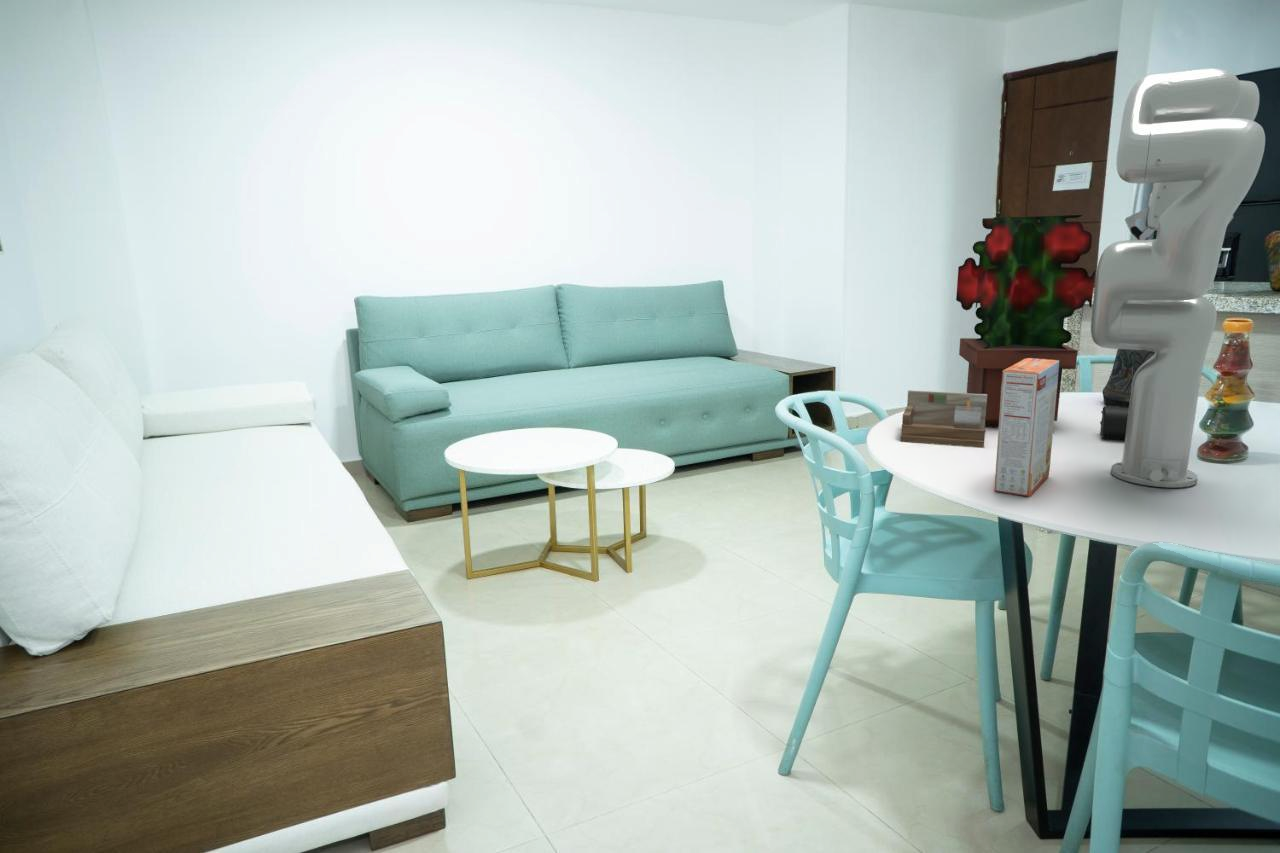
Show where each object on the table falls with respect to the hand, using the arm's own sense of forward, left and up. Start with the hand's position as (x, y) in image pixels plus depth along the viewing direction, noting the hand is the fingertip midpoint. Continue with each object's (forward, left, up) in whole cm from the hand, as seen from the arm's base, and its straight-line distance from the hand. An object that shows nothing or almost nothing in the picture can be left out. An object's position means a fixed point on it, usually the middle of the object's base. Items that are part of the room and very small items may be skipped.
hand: (1172, 261), depth 152 cm
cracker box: (-39, +25, -36) cm, 59 cm away
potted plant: (+10, +26, -36) cm, 45 cm away
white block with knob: (-9, +34, -35) cm, 50 cm away
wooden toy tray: (-9, +39, -36) cm, 54 cm away
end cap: (0, +4, -36) cm, 36 cm away
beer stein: (+34, -4, -36) cm, 49 cm away
